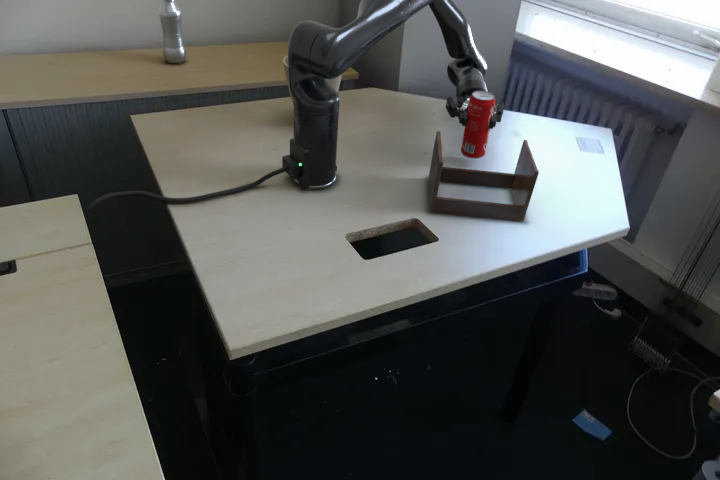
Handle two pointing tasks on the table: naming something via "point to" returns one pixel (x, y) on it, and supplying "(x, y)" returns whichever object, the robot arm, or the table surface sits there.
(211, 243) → the table surface
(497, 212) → the walnut crate
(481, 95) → the beverage can
